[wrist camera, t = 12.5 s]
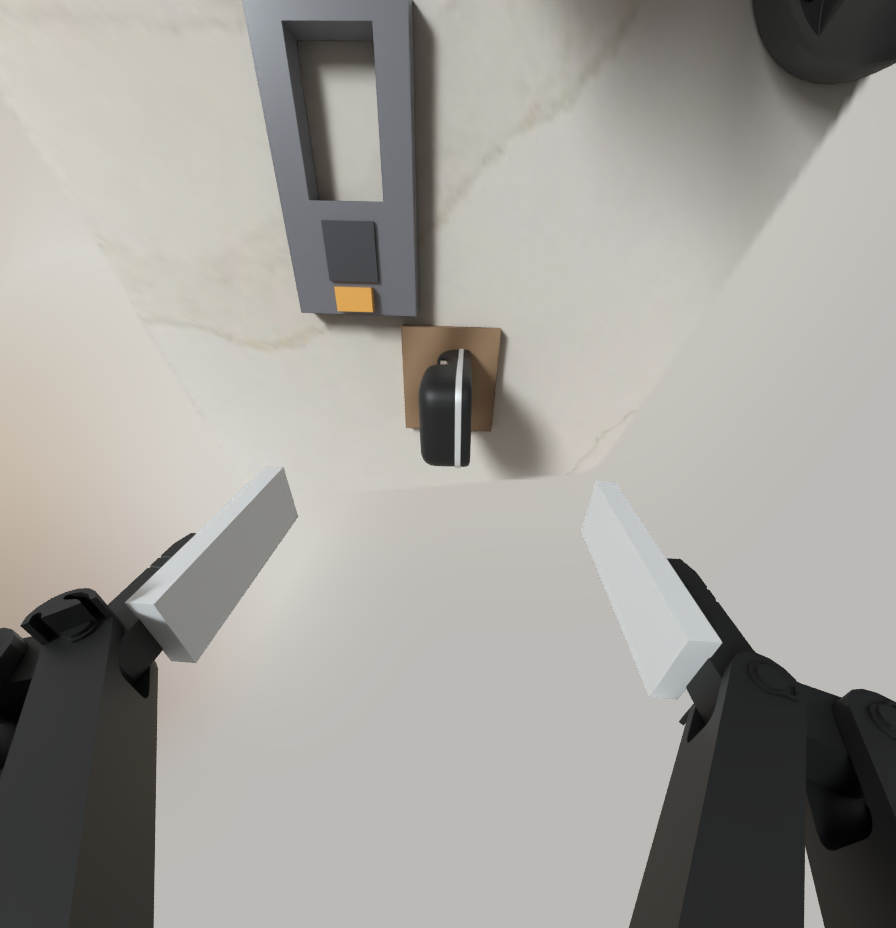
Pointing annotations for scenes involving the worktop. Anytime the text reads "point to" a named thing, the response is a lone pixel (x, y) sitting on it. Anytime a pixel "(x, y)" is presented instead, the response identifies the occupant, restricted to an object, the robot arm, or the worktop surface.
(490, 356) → the walnut board
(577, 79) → the worktop surface
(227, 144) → the worktop surface
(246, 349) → the worktop surface
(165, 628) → the robot arm
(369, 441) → the worktop surface
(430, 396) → the battery charger
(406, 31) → the grey flat piece
